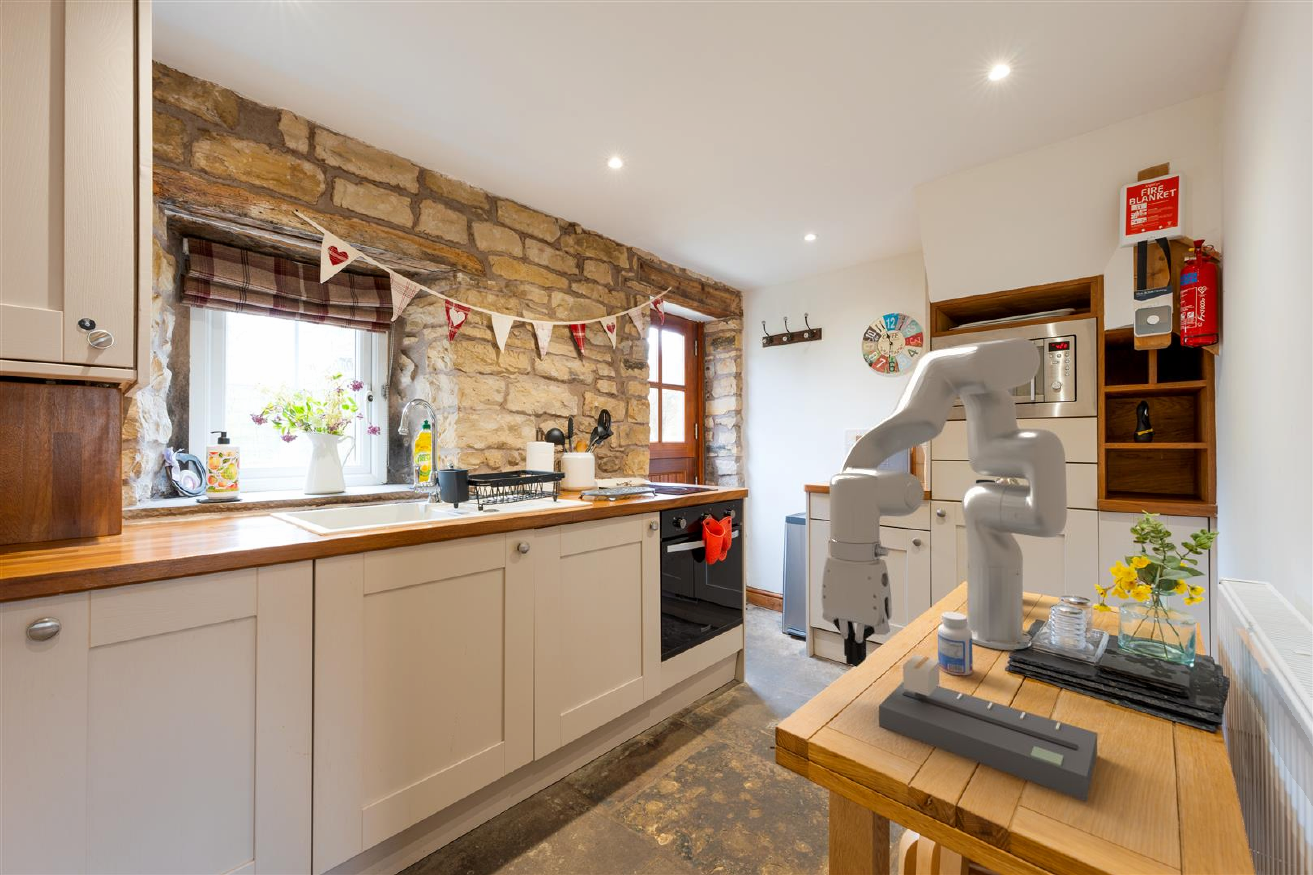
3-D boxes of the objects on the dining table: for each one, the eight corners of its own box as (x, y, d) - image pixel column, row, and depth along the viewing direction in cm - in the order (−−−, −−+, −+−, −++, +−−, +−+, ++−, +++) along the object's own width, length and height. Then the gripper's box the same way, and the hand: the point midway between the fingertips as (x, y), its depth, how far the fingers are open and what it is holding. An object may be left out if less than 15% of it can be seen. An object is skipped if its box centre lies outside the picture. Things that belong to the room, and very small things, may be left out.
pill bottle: (954, 660, 101) (954, 608, 101) (979, 673, 96) (979, 618, 96) (930, 665, 99) (930, 612, 99) (955, 678, 94) (955, 622, 94)
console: (907, 695, 89) (907, 675, 89) (1097, 755, 72) (1097, 731, 72) (878, 725, 80) (878, 704, 80) (1086, 801, 64) (1086, 774, 64)
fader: (914, 686, 85) (914, 653, 85) (939, 693, 82) (939, 659, 82) (903, 698, 81) (903, 664, 81) (928, 706, 79) (928, 671, 78)
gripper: (911, 552, 86) (911, 668, 86) (822, 539, 96) (823, 643, 96) (893, 562, 80) (893, 685, 81) (800, 547, 90) (801, 657, 91)
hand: (855, 662), depth 89 cm, fingers closed
